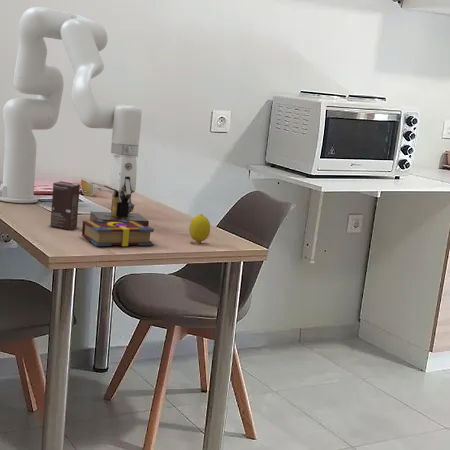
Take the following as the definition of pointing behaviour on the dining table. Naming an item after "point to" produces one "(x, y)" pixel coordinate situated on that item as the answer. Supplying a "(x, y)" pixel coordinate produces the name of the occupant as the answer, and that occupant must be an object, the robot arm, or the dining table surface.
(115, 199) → the lock knob
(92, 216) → the lock plate
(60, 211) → the box
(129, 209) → the grey textured elongated piece
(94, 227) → the decorative book
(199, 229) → the lemon
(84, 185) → the sunglasses
